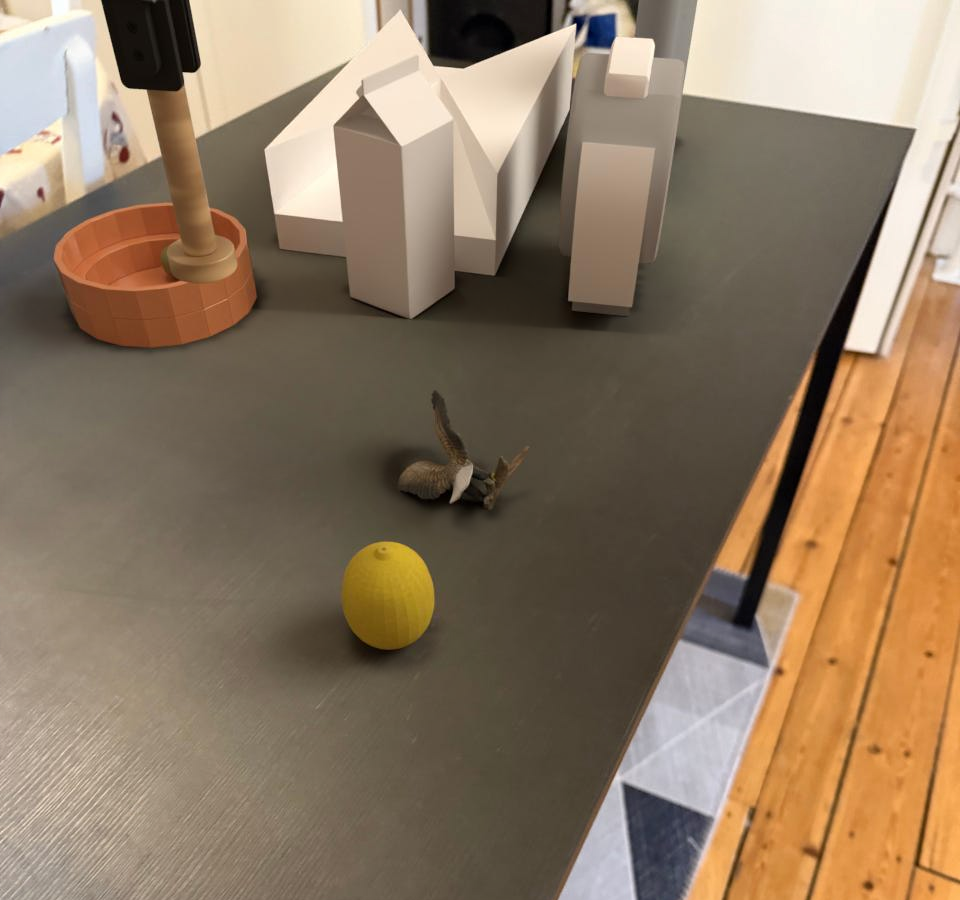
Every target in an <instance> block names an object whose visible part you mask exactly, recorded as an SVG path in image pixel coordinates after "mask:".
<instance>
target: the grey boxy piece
mask: <svg viewBox="0 0 960 900" xmlns="http://www.w3.org/2000/svg"><path fill="white" fill-rule="evenodd" d="M654 50H655V44H654V41H653V39H647V38H634V37H631V36H630V37H629V36H615V38H614V39H613V41H612V44H611V47H610V50H609V53H597V52H596V53H595V52H585V53H584V54H583V55H582V56H581V57H580V58H579V61H578V65H577V69H576V74H575V80H574V85H573V90H572V91H573V92H572V95H571V102H570V110H569V119H568V126H567V133H566V142H565V151H564V161H563V170H562V181H561V193H560V209H559V227H558V228H559V232H558V239H559V240H558V243H559V247H558V248H559V252H560V254H561V255H562V256H564V257H570V266H569V267H570V269H569V282H568V295H567V296H568V297H567V301H568V302H572V304H571V311H573V312H581V313H591V314H602V315H610V316H611V315H612V316H622V317H629V314H630V308H633V304H634V298H635V290H636V283H637V275H638V269H639V264H642V265H651V264H652V263H654V262H655V260H656V259H657V255H658V250H659V246H660V240H661V233H662V227H663V223H664V217H665V211H666V203H667V197H668V190H669V185H670V178H671V171H672V166H673V159H674V152H675V146H676V138H677V131H678V125H679V119H680V118H679V117H680V111H681V106H680V104H681V105H682V100H681V97H682V98H683V94H682V89H683V90H684V88H683V81H684V72H685V68H684V62H682V61H681V60H679V59H668V58H654ZM684 82H685V81H684Z"/></svg>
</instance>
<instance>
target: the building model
mask: <svg viewBox="0 0 960 900" xmlns="http://www.w3.org/2000/svg"><path fill="white" fill-rule="evenodd" d="M576 34H577V23H574V24H571V25H569V26H566V27H564V28H561V29H559V30H556V31H554V32H551V33H549V34H547V35H544V36H541V37H539V38H537V39H534V40H532V41H529V42H526V43H524V44H521V45H519V46H516V47H514V48H511V49H509V50H506V51H504V52H501V53H500V54H496V55H494V56H492V57H489V58H487V59H486V58H485V59H484V60H481V61H479V62H476V63H474V64H471V65H469V66H467V67H464V68H460V67H459V68H458V67H448V66H440V65H439V66H438V65H434V64H433V63H432V61H431V59H430V57H429V56H428V55H427V52H426V51H425V49H424V47H423V46H422V44H421V42H420V41H419V39H418V37H417V35H416V33H415V32H414V30H413V28H412V27H411V25H410V24H409V22H408V20H407V18H406V17H405V15H404V13H403V12H402V9H399V10H398V11H397V12H396V13H395V15H393V17H391V19H389V20H388V22H387V23H385V25H383V27H381V29H380V30H379V31H378V32H377V33H376V34H375V35H374V36H372V38H371V39H370V40H369V41H368V42H367V43H366V44H365V45H364V47H362V48H361V49H360V50H359V52H358V53H357V54H356V55H355V56H354V57H353V58H351V60H349V62H348V63H347V64H346V65H344V67H343V68H342V69H341V70H340V71H339V72H338V73H337V74H336V75H335V76H334V77H333V78H332V79H331V80H330V81H329V82H328V84H327V85H326V86H324V87H323V88H322V90H321V91H320V92H319V93H317V95H315V97H314V98H313V99H312V100H310V102H309V103H308V104H307V105H306V106H305V107H304V108H303V109H302V110H301V111H300V112H299V113H298V114H297V115H296V116H295V117H294V118H293V119H292V121H290V123H289V124H288V125H286V127H285V128H283V130H282V131H281V132H280V133H279V134H278V135H277V136H276V137H275V138H274V139H273V140H272V141H271V142H270V143H269V144H268V145H267V146H266V147H265V148H264V149H263V150H264V156H265V163H266V169H267V176H268V181H269V188H270V189H269V190H270V196H271V201H272V207H273V215H274V221H275V229H276V234H277V241H278V247H279V249H280V250H286V251H292V252H293V251H294V252H301V253H310V254H318V255H326V256H332V257H333V256H334V257H341V258H346V250H345V240H344V230H343V220H342V210H341V200H340V190H339V180H338V170H337V160H336V151H335V141H334V129H333V125H334V124H335V123H336V122H337V121H338V120H339V119H340V118H341V117H342V116H343V115H344V113H345V112H346V111H347V110H348V109H349V108H350V107H351V106H352V105H353V104H354V103H355V102H356V101H357V100H358V99H359V97H358V95H357V94H356V91H357V89H358V88H359V87H360V86H361V85H362V82H361V80H362V79H363V78H365V77H367V76H369V75H372V74H374V73H376V72H378V71H381V70H383V69H385V68H387V67H390V66H392V65H394V64H396V63H399V62H401V61H403V60H406V59H408V58H410V57H412V56H415V55H418V56H419V71H420V72H421V74H422V75H423V76H424V78H425V79H426V81H427V82H428V83H429V85H430V86H431V88H432V89H433V90H434V92H435V93H436V95H437V96H438V97H439V99H440V100H441V102H442V103H443V104H444V106H445V107H446V109H447V110H448V111H449V113H450V114H451V116H452V117H453V161H454V263H455V272H460V273H461V272H462V273H470V274H478V275H485V276H493V277H495V276H496V274H497V271H498V269H499V268H500V264H501V262H502V260H503V258H504V256H505V254H506V252H507V250H508V247H509V245H510V242H511V241H512V238H513V236H514V234H515V231H516V230H517V228H518V225H519V223H520V220H521V218H522V216H523V214H524V212H525V210H526V207H527V206H528V203H529V201H530V198H531V197H532V193H533V191H534V190H535V187H536V186H537V183H538V181H539V178H540V176H541V174H542V172H543V169H544V168H545V165H546V163H547V161H548V158H549V156H550V154H551V152H552V150H553V147H554V145H555V143H556V140H557V138H558V136H559V134H560V131H561V129H562V127H563V125H564V124H565V120H566V118H567V117H568V114H569V113H570V110H571V99H572V83H573V71H574V58H575V46H576Z"/></svg>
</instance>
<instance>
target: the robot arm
mask: <svg viewBox="0 0 960 900" xmlns="http://www.w3.org/2000/svg"><path fill="white" fill-rule="evenodd" d="M100 2H101V6H102V11H103V14H104V19H105V22H106V26H107V30H108V31H107V32H108V35H109V39H110V43H111V47H112V50H113V55H114V59H115V63H116V67H117V71H118V75H119V79H120V82H121V84H122V85H123V86H124V87H125V88H126V89H129V90H142V91H143V90H144V91H145V90H146V91H147V90H158V91H174V92H176V91H179V90H180V89H181V88H182V87H183V85H184V84H185V77H184V74H185V73H186V74H195V73H196V72H197V71H198V70H199V69H200V68H201V65H202V60H201V56H200V50H199V45H198V39H197V35H196V34H197V33H196V29H195V23H194V17H193V12H192V7H191V2H190V0H100Z"/></svg>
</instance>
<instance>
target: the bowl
mask: <svg viewBox="0 0 960 900" xmlns="http://www.w3.org/2000/svg"><path fill="white" fill-rule="evenodd" d="M209 209H210V214H211V219H212V224H213V229H214V234H215V235H218V236H222V237H225V238H227V239H228V240H230V241H231V242H232V243H233V245H234V249H235V254H236V259H237V268H236V270H235V272H234V273H233V274H231V275H230V276H229V277H227V278H225V279H222V280H219V281H216V282H211V283H202V284H196V283H188V282H184V281H181V280H179V279H177V278H174V277H171V276H170V275H168V274H167V273H166V272H165V271H164V269H163V268H162V265H161V261H160V257H161V253H162V251H163V249H164V248H165V247H166V246H168V245H170V244H172V243H174V242H175V241H177V240H179V239H181V238H180V233H179V229H178V225H177V220H176V216H175V212H174V207H173V203H172V202H157V203H145V204H144V203H143V204H136V205H132V206H127V207H123V208H118V209H113V210H110V211H107V212H104V213H101V214H99V215H96V216H93V217H91V218H88V219H86V220H84V221H82V222H81V223H79V224H77V225H76V226H74V227H72V228H71V229H69V230H67V232H66V233H65V234H64V235H63V237H61V239H60V240H59V241H58V242H57V243H56V245H55V249H54V253H53V262H54V265H55V268H56V271H57V274H58V277H59V281H60V282H61V285H62V288H63V291H64V294H65V297H66V300H67V302H68V305H69V308H70V311H71V315H72V316H73V318H74V320H75V322H76V324H77V325H78V327H79V329H81V330H82V331H84V332H85V333H86V334H88V335H90V336H91V337H93V338H95V339H96V340H99V341H103V342H105V343H109V344H113V345H117V346H119V347H132V348H145V349H147V348H148V349H153V348H162V347H173V346H181V345H185V344H189V343H193V342H197V341H200V340H204V339H207V338H210V337H213V336H215V335H217V334H219V333H221V332H223V331H226V330H228V329H229V328H231V327H234V326H235V325H236V324H237V323H239V322H240V321H241V320H242V319H243V318H245V316H246V315H248V314H249V313H250V312H251V310H252V308H253V305H254V304H255V302H256V300H257V298H258V294H257V286H256V285H257V284H256V281H255V275H254V274H255V273H254V268H253V262H252V257H251V252H250V251H251V250H250V247H249V241H248V240H249V239H248V235H247V230H246V228H245V226H243V225H242V224H241V222H240V221H239V220H238V219H237V218H236V217H234V216H232V215H230V214H228V213H226V212H224V211H222V210H220V209H217V208H213V207H209Z"/></svg>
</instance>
